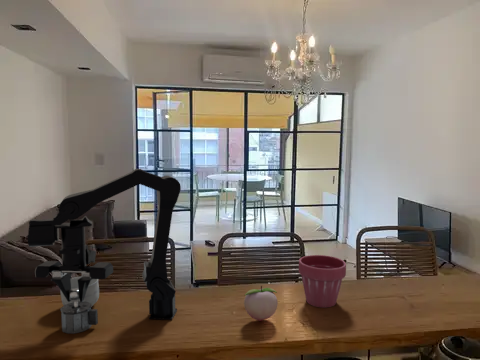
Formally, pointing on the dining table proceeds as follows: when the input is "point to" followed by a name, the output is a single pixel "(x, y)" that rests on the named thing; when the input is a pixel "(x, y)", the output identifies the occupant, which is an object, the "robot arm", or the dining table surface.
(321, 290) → the plant pot
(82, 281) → the robot arm
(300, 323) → the dining table surface
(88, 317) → the octagonal grey mug
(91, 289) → the teacup
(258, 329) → the dining table surface
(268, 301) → the decorative fruit
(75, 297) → the plunger
